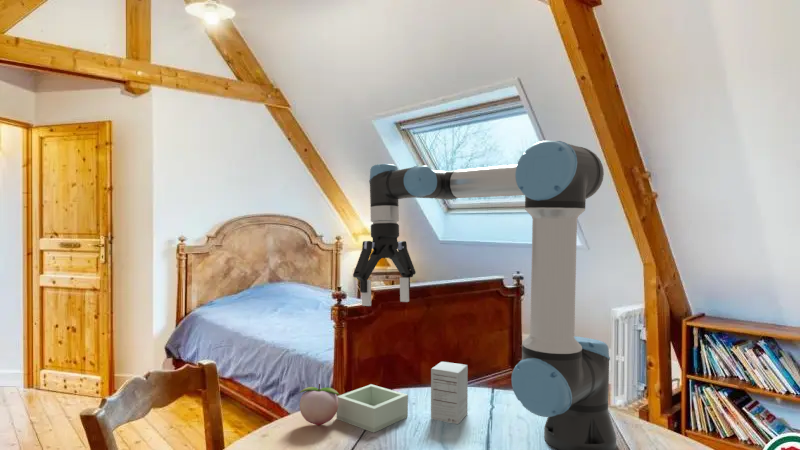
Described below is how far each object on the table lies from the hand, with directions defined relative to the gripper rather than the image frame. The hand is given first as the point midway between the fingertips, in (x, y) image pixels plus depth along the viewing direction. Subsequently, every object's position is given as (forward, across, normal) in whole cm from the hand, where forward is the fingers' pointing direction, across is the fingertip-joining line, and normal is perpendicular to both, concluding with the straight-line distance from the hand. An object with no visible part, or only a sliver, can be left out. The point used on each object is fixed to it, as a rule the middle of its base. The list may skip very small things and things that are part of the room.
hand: (386, 303), depth 135 cm
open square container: (+27, +8, +2) cm, 28 cm away
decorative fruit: (+28, +20, -2) cm, 34 cm away
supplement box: (+28, -7, +15) cm, 32 cm away
